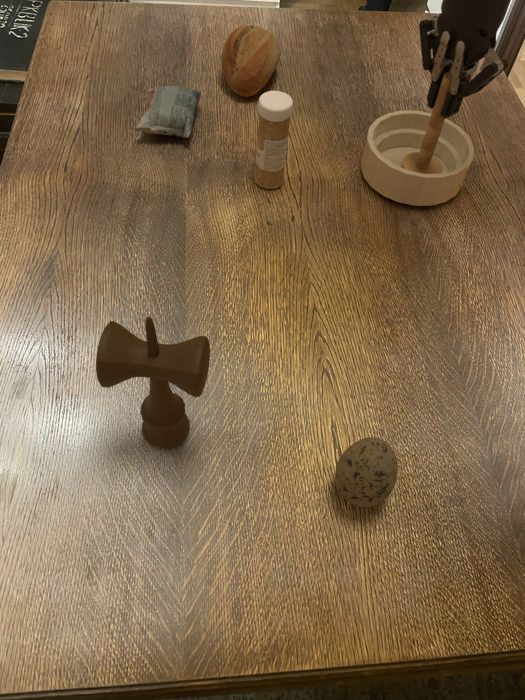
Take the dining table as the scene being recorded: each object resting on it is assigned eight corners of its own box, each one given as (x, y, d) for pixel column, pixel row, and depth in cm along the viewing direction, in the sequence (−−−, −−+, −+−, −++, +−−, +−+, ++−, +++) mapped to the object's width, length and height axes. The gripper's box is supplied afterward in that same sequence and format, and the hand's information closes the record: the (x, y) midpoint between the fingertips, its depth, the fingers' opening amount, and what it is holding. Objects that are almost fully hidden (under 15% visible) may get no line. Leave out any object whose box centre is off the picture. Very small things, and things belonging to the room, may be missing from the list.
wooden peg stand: (433, 162, 94) (467, 63, 81) (443, 188, 90) (480, 89, 77) (395, 163, 93) (423, 63, 80) (404, 189, 90) (434, 89, 77)
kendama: (129, 400, 68) (100, 282, 51) (214, 412, 68) (212, 297, 51) (115, 448, 64) (79, 339, 48) (205, 461, 64) (199, 355, 48)
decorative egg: (347, 452, 66) (366, 407, 58) (396, 483, 64) (422, 441, 56) (319, 495, 63) (334, 453, 55) (369, 528, 61) (392, 490, 53)
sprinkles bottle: (254, 170, 92) (259, 88, 81) (284, 171, 92) (292, 90, 81) (253, 190, 89) (258, 108, 78) (284, 191, 89) (293, 110, 78)
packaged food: (135, 143, 94) (132, 115, 90) (150, 99, 101) (148, 71, 97) (191, 149, 94) (190, 121, 90) (202, 105, 101) (202, 77, 97)
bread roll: (212, 97, 102) (212, 51, 95) (232, 52, 110) (233, 7, 104) (268, 107, 101) (271, 61, 95) (284, 60, 110) (288, 15, 103)
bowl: (446, 143, 98) (457, 110, 94) (472, 209, 90) (487, 176, 85) (352, 143, 97) (359, 110, 92) (370, 210, 88) (378, 177, 83)
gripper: (554, -8, 67) (496, 128, 81) (464, -57, 73) (425, 78, 87) (508, 8, 64) (457, 146, 78) (419, -44, 70) (386, 93, 84)
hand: (440, 110), depth 83 cm, fingers closed on wooden peg stand
